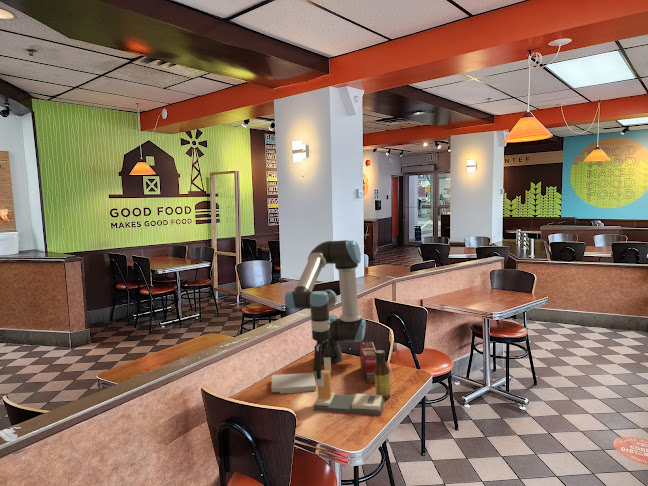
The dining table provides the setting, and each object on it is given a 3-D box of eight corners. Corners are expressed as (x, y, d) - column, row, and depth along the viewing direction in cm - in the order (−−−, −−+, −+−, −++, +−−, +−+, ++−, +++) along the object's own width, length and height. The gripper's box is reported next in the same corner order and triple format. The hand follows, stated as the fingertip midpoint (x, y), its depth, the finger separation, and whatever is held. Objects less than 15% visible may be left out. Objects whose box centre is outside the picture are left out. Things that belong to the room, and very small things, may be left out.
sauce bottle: (393, 396, 184) (391, 351, 182) (384, 401, 179) (382, 355, 178) (381, 392, 188) (379, 348, 187) (372, 397, 184) (370, 352, 182)
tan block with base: (321, 394, 185) (319, 366, 184) (334, 395, 184) (333, 367, 183) (315, 405, 176) (313, 376, 175) (329, 405, 174) (327, 376, 173)
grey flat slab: (314, 379, 209) (272, 381, 207) (313, 372, 208) (272, 375, 207) (316, 392, 194) (271, 395, 192) (316, 385, 193) (271, 388, 192)
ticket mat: (321, 397, 186) (321, 390, 186) (384, 401, 180) (384, 393, 179) (314, 410, 175) (314, 403, 175) (380, 414, 168) (380, 407, 168)
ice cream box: (379, 383, 197) (377, 355, 196) (365, 384, 197) (363, 356, 196) (373, 367, 217) (372, 341, 216) (360, 368, 217) (359, 342, 216)
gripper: (322, 339, 164) (325, 392, 166) (336, 320, 188) (339, 367, 190) (303, 339, 166) (307, 391, 168) (319, 320, 190) (322, 366, 192)
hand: (324, 378), depth 179 cm, fingers open, 13 cm apart
